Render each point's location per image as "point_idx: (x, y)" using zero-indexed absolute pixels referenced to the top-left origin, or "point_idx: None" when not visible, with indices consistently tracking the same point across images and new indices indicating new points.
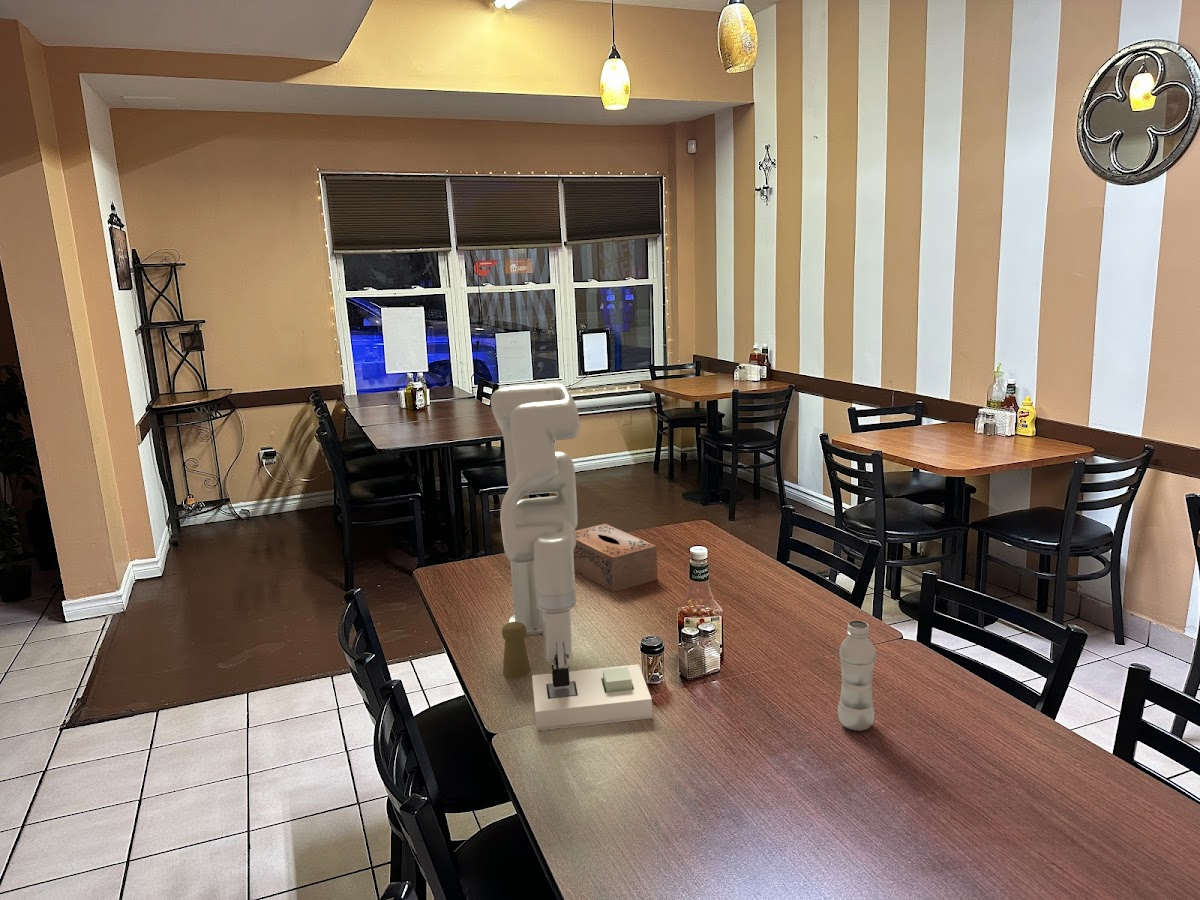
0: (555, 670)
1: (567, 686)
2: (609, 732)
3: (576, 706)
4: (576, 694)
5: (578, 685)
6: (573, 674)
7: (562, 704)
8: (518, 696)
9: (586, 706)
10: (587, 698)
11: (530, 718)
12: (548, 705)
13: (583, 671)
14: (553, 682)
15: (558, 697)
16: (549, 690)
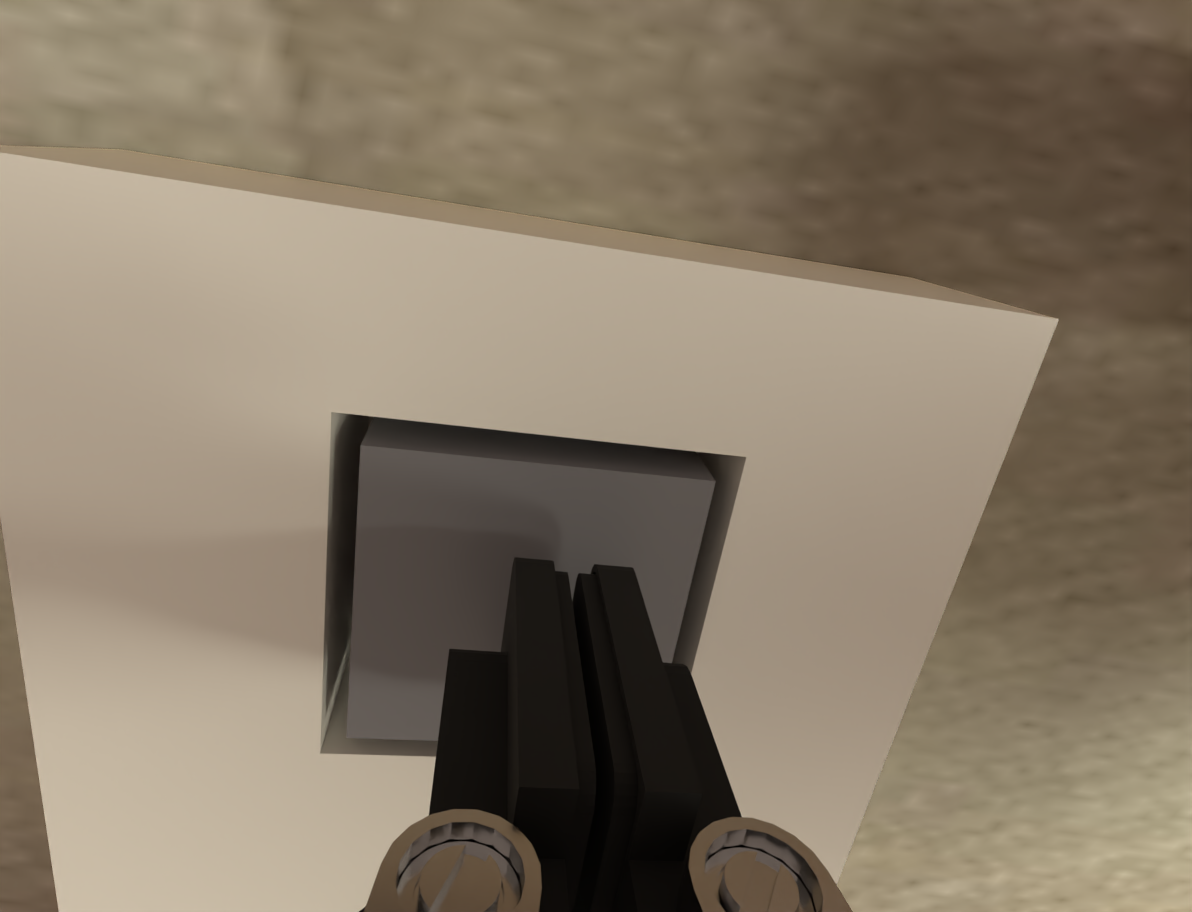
0: (511, 796)
1: None
2: (9, 777)
3: (49, 708)
4: None
5: None
6: (811, 764)
7: (129, 566)
8: (935, 101)
9: (48, 798)
10: (226, 829)
11: (425, 135)
12: (133, 385)
13: (819, 851)
14: (514, 594)
15: (360, 544)
16: (554, 470)
